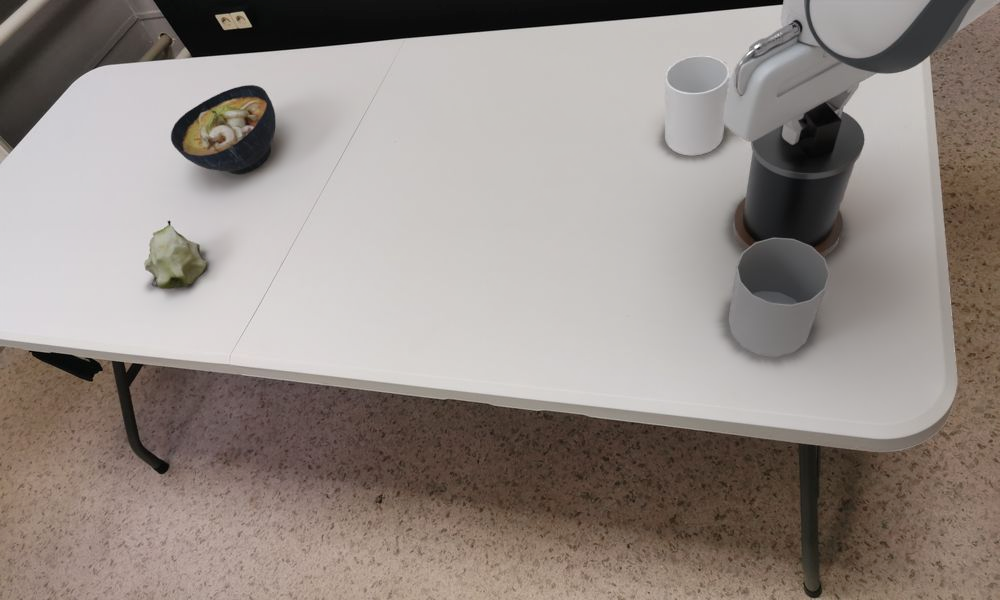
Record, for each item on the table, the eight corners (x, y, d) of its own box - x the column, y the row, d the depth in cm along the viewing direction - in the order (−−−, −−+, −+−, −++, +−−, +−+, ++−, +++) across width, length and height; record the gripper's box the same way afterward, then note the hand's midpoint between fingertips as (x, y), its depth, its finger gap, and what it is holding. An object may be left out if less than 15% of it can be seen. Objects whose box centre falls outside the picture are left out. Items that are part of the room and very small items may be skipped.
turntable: (848, 201, 75) (851, 193, 74) (829, 277, 70) (832, 269, 69) (746, 185, 80) (748, 176, 79) (721, 254, 75) (722, 246, 74)
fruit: (182, 252, 99) (158, 213, 93) (226, 266, 96) (205, 226, 91) (139, 291, 94) (111, 252, 88) (185, 306, 91) (160, 267, 85)
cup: (810, 297, 69) (829, 241, 61) (810, 361, 65) (830, 309, 57) (731, 290, 72) (739, 235, 64) (725, 351, 68) (733, 300, 60)
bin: (809, 177, 77) (839, 59, 63) (855, 237, 70) (900, 120, 57) (725, 202, 77) (738, 91, 64) (764, 264, 71) (787, 156, 58)
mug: (664, 158, 86) (664, 96, 78) (665, 120, 90) (665, 58, 82) (757, 153, 83) (768, 88, 74) (754, 114, 87) (763, 49, 79)
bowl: (202, 146, 113) (167, 102, 105) (289, 112, 113) (261, 65, 105) (203, 206, 103) (165, 162, 95) (299, 169, 103) (268, 121, 95)
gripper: (764, 70, 48) (747, 193, 59) (969, -40, 51) (915, 99, 62) (712, 37, 52) (705, 159, 63) (904, -64, 54) (865, 71, 65)
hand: (810, 129), depth 62 cm, fingers closed on bin, 3 cm apart
